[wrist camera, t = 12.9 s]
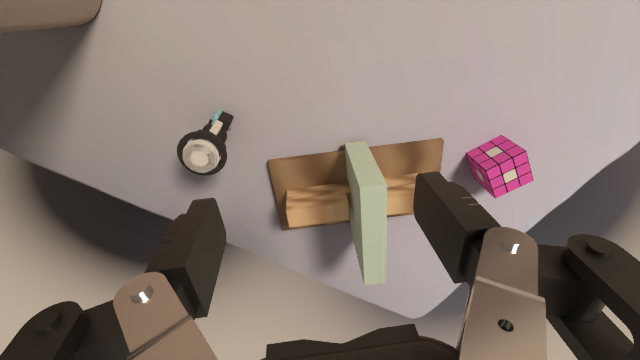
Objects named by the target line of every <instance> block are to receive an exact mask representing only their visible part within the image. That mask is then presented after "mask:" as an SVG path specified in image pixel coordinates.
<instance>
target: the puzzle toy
mask: <svg viewBox="0 0 640 360" xmlns="http://www.w3.org/2000/svg"><path fill="white" fill-rule="evenodd" d="M466 156H467V158H468V161H469V163H470V166H471V169H472V171H473V174H474V177H475V179H476V180H477V181H478V182H479V183H480V184H481V185H482V186H483V187H484V188H485V189H486V190H487V191H488V192H489V193H490V194H491V195H492V196H493V197H494V198H497V197H499V196H501V195H504V194H506V193H507V192H510V191H512V190H514V189H516V188H519V187H520V186H523V185H525V184H527V183H529V182H531V181H533V176H532V172H531V168H530V164H529V161H528V156H527V152H526V150H524V149H522V148H521V147H519V146H518V145H516V144H515V143H513V142H512V141H510V140H509V139H507V138H505V137H504V136H502V135H501V136H499V137H497V138H495V139H493V140H491V141H489V142H487V143H485V144H483V145H481V146H479V147H478V148H475V149H473V150H471V151H469V152H467V153H466Z"/></svg>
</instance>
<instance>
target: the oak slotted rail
mask: <svg viewBox="0 0 640 360" xmlns="http://www.w3.org/2000/svg"><path fill="white" fill-rule="evenodd" d="M443 144H444V141H443V140H442V139H441V138H439V139H431V140H423V141H415V142H407V143H399V144H391V145H383V146H375V147H369V149H370V151H371V153H372V155H373V157H374V159H375V161H376V163H377V165H378V167H379V169H380V171H381V173H382V175H383V177H384V179H385V181H386V183H387V217H394V216H402V215H410V214H414V211H413V201H414V191H415V181H416V176H417V174H418V173H425V172H433V171H438V172H439V173H440V168H441V160H442V152H443ZM268 166H269V170H270V175H271V179H272V183H273V188H274V192H275V197H276V201H277V206H278V210H279V215H280V219H281V224H282V228H283V231H284V230H291V229H299V228H307V227H315V226H323V225H331V224H339V223H347V222H350V212H349V208H351V194H350V186H349V182H348V179H347V170H346V155H345V150H343V151H335V152H327V153H319V154H311V155H303V156H295V157H287V158H280V159H272V160H268Z"/></svg>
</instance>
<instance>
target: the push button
mask: <svg viewBox="0 0 640 360" xmlns="http://www.w3.org/2000/svg"><path fill="white" fill-rule="evenodd" d="M233 117H234V116H232V115H230V114H228V113H225V112H223V111H221V110H218V112H217V113H216V114H215V116H214V119H213V120H211V119H209V121H208V122H207V125H205V127H204V128H203V130H198V131H196V132H191V133H189V134H187V135H185V136H184V137H183V138H182V139H181V140H180V142H179V144H178V146H177V154H178V158H179V160H180V162H181V163H182V164H183V166H184V167H185V168H187V169H188V170H189V171H191V172H193V173H196V174H199V175H212V174H215V173H217V172H219V171H220V170H221V169H222V168H223V167H224V165H225V163H226V160H227V152H226V145H225V144H224V142H225V140H226V139H227V137H228V135H229V132H230V130H231V129H230V130H229V132H228V131H227V130H228V128H229V126H230V124H231V122H232V119H233ZM193 138H194V139H193ZM190 139H193V140H192V141H191V142H188V141H189V140H190ZM187 142H188V143H187ZM220 155H221V160H220V161H219V157H220Z"/></svg>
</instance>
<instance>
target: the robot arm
mask: <svg viewBox="0 0 640 360" xmlns="http://www.w3.org/2000/svg"><path fill="white" fill-rule="evenodd" d="M100 5H101V0H0V33H8V32H18V31H28V30H37V29H47V28H58V27H67V26H76V25H82V24H84V23H87V22H89V21H90V20H91V19H93V18H94V17H95V15H96V14H97V12H98V11H99V8H100ZM413 211H414V216H415V219H416V221H417V222H418V224H419V226H420V227H421V229H422V231H423V232H424V234H425V236H426V237H427V239H428V241H429V242H430V244H431V246H432V247H433V249H434V251H435V252H436V254H437V256H438V257H439V259H440V260H441V262H442V264H443V265H444V267H445V269H446V270H447V272H448V274H449V275H450V277H451V279H452V280H453V282H454V284H456V283H463V282H467V283H468V284H469V286H470V290H469V294H468V298H467V303H466V308H465V312H464V316H463V321H462V325H461V330H460V334H459V338H458V342H457V346H456V348H454V347H452V346H450V345H448V344H446V343H444V342H442V341H439V340H436V339H433V338H429V337H425V336H419V335H418V332H417V330H416V327H415V325H414V324H408V325H401V326H394V327H387V328H380V329H377V330H374V331H372V332H370V333H367V334H365V335H363V336H360V337H358V338H356V339H353V340H351V341H349V342H346V343H342V344H339V343H330V342H321V341H312V340H297V341H289V342H282V343H275V344H268V345H267V350H266V358H264V359H261V360H547V343H546V318H547V319H548V321H549V322H550V323H551V324H552V326H553V327H554V329H555V330H556V331H557V333H558V334H559V335H560V337H561V338H562V339H563V340H564V342H565V343H566V344H567V346H568V347H569V348H570V350H571V351H572V352H573V353H574V355H575V356H576V358H577V359H578V360H640V262H639V261H638V260H637V259H636V258H634V257H633V256H632V255H630V254H629V253H628V252H627V251H625V250H624V249H623V248H621V247H620V246H618V245H617V244H615V243H613V242H611V241H609V240H606V239H604V238H601V237H598V236H593V235H587V234H578V235H573V236H571V237H570V238H569V239H568V241H567V243H566V245H565V247H560V246H550V245H539V244H536V243H535V241H534V240H533V239H532V238H531V237H529V236H528V235H526V234H525V233H523V232H521V231H518V230H516V229H512V228H508V227H501V226H500V224H499V223H498V222H497V221H496V220H495V219H494V218H493V217H492V216H491V215H490V214H489V213H488V212H487V211H486V210H485V209H484V208H483V207H482V206H481V205H480V204H478V202H477V201H476V200H475V199H474V198H472V196H471V195H470V194H469V193H468V191H467V190H466V189H465V188H463V187H461V186H459V185H458V184H456V183H454V182H447V180H446V179H445V178H444V177H443V176H442V175H441V174H440V173H439V172H438V171H433V172H425V173H418V174H417V176H416V181H415V191H414V201H413ZM225 245H226V231H225V227H224V224H223V221H222V218H221V214H220V211H219V208H218V205H217V202H216V200H215V199H214V198H207V199H198V200H193V201H192V203H191V205H190V207H189V209H188V211H187V213H186V214H181V215H179V216H178V217H177V218H176V219H175V220H174V221H173V222H172V223H171V224H170V226H169V227H168V229H167V231H166V233H165V236H164V237H163V239H162V241H161V244H160V245H159V246H158V248H157V250H156V252H155V254H154V256H153V258H152V259H151V262H150V263H149V265H148V267H147V269H146V271H145V273H144V274H141V275H139V276H137V277H135V278H133V279H131V280H130V281H128V282H127V283H126V284H124V285H123V286H122V287H121V288H120V289H119V291H118V292H117V293H116V295H115V297H114V300H111V301H109V302H106V303H104V304H101V305H98V306H95V307H93V308H90V309H87V310H84V311H83V310H82V308H81V307H80V306H79V305H78V304H77V303H76V302H71V301H67V302H61V303H58V304H55V305H52V306H50V307H48V308H46V309H44V310H42V311H41V312H39V313H38V314H36V315H35V316H34V317H32V318H31V319H30V320H29V321H28V322H27V323H26V324H25V325H24V326H23V327H22V328H21V329H20V330H19V332H18V333H17V334H16V336H15V337H14V338H13V340H12V341H11V342H10V344H9V345H8V346H7V348H6V349H5V350H4V352H3V353H2V354H1V355H0V360H218V359H217V357H216V356H215V354H214V352H213V351H212V349H211V348H210V346H209V344H208V343H207V341H206V339H205V338H204V336H203V335H202V333H201V331H200V330H199V328H198V327H197V325H196V323H195V322H194V320H195V318H201V317H207V315H208V311H209V308H210V303H211V300H212V296H213V292H214V288H215V284H216V280H217V276H218V272H219V268H220V264H221V260H222V256H223V253H224V249H225ZM605 305H606V306H607V307H608V308H609V309H610V310H611V311H612V312H613V313H614V314H615V315H616V316H617V317H618V318H619V319H620V320H621V321H622V322H623V323H624V324H625V325H626V326H627V327H628V329H629V330H630V332H631V334H632V336H633V339H634V344H633V343H632V342H631V341H630V340H629V339H628V338H627V337H626V336H625V335H624V333H622V331H620V329H619V328H618V327H617V326H616V325H615V324H614V323H613V322H612V321H611V320H610V319H609V318H608V317H607V316H606V315H605V314H604V313H603V312H602V309H603V308H604V306H605Z"/></svg>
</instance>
